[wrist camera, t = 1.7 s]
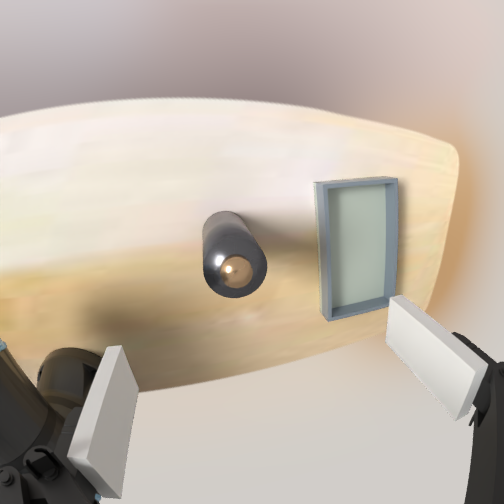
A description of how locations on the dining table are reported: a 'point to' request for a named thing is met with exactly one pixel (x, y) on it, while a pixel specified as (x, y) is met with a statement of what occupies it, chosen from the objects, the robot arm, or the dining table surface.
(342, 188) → the trough
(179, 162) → the dining table surface
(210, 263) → the cell
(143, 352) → the dining table surface
